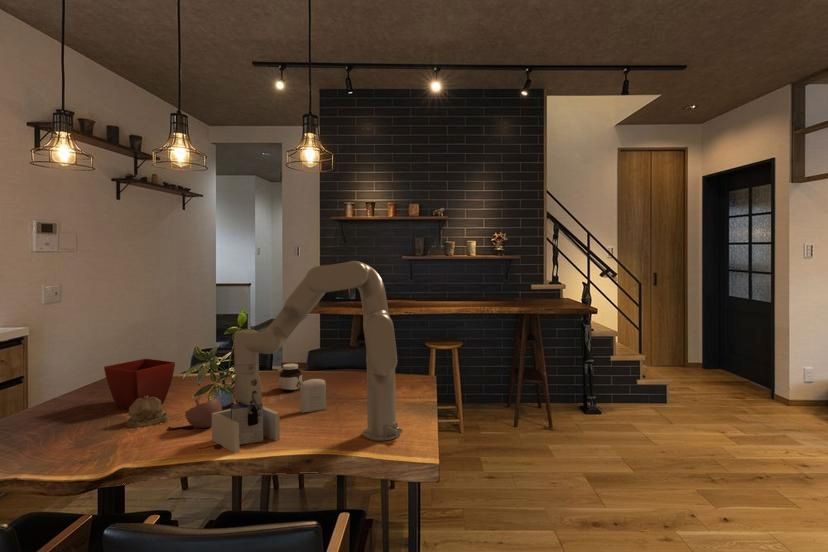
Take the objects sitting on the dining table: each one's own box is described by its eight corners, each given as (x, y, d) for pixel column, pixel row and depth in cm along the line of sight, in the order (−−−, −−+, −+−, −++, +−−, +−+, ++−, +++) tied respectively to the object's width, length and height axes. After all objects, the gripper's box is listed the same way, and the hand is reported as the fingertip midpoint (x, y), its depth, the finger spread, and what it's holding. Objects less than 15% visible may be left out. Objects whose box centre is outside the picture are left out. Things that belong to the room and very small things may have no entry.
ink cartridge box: (261, 435, 167) (261, 393, 167) (264, 441, 162) (263, 398, 162) (230, 440, 163) (230, 397, 162) (232, 446, 158) (231, 401, 157)
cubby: (279, 439, 164) (279, 412, 164) (234, 453, 153) (234, 424, 153) (255, 428, 175) (255, 403, 175) (212, 440, 164) (211, 413, 164)
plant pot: (177, 401, 210) (176, 361, 210) (135, 414, 193) (134, 371, 192) (146, 396, 218) (145, 358, 218) (103, 408, 201) (102, 366, 200)
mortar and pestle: (203, 420, 185) (203, 389, 184) (229, 423, 180) (228, 392, 180) (177, 430, 174) (177, 398, 173) (204, 434, 169) (203, 401, 169)
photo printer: (323, 406, 201) (322, 376, 200) (327, 409, 197) (327, 378, 197) (298, 411, 195) (298, 380, 195) (302, 414, 191) (302, 382, 191)
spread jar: (288, 394, 220) (288, 368, 220) (270, 390, 226) (270, 365, 226) (307, 388, 230) (307, 363, 230) (290, 385, 236) (289, 360, 236)
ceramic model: (122, 429, 175) (121, 401, 175) (128, 420, 186) (127, 393, 186) (166, 424, 180) (166, 397, 180) (170, 415, 191) (169, 390, 190)
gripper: (270, 370, 159) (271, 425, 159) (244, 362, 171) (245, 414, 171) (248, 374, 153) (249, 431, 154) (223, 365, 165) (224, 419, 166)
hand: (247, 421), depth 163 cm, fingers closed on ink cartridge box, 6 cm apart
